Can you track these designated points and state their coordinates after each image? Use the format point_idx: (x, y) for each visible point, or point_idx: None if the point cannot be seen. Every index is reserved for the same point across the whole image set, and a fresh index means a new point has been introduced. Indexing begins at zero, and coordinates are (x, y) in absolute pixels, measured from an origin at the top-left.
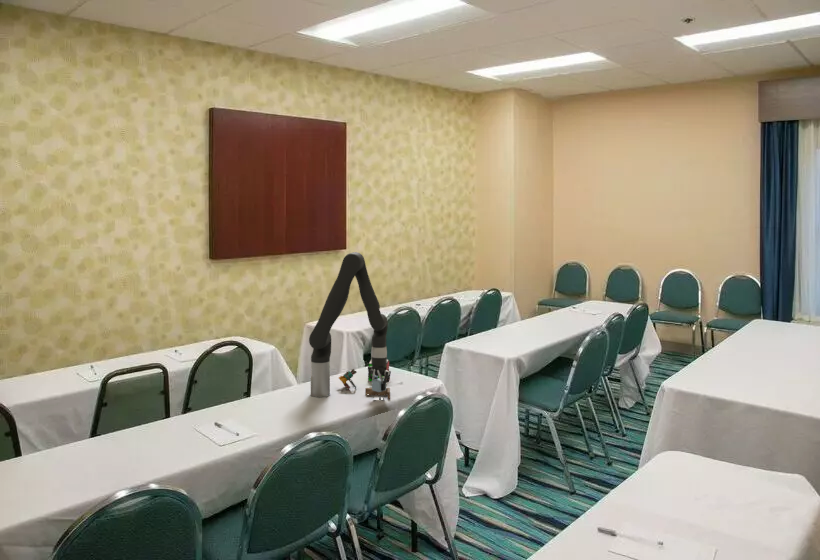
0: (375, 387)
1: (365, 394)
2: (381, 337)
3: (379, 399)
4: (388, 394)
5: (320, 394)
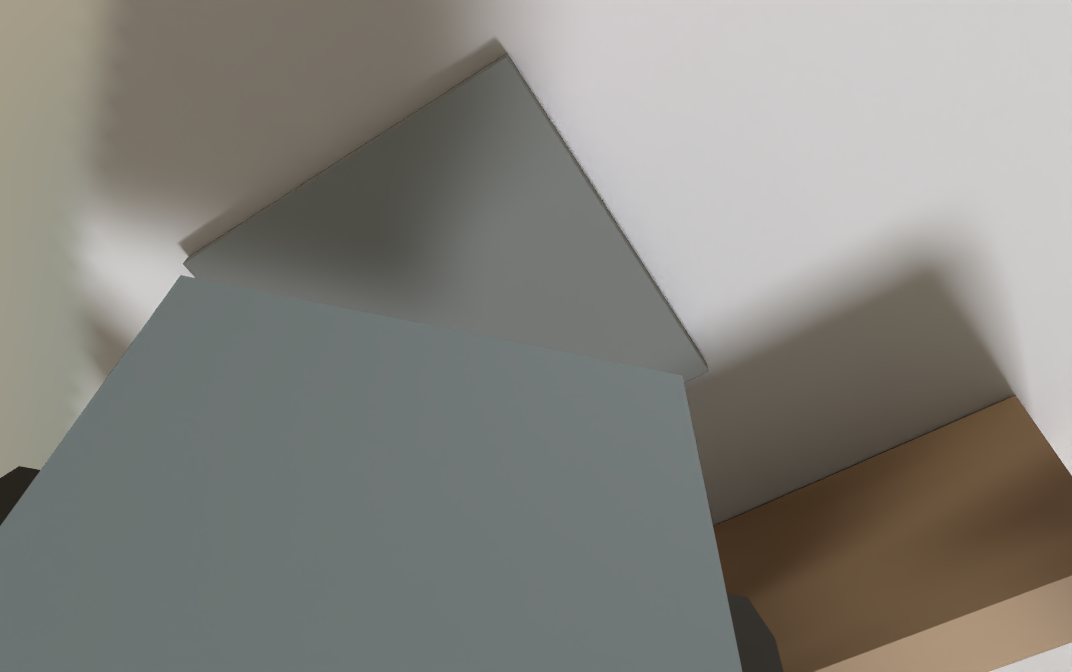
0: (408, 443)
1: (1024, 412)
2: None
3: (371, 257)
4: None
5: None
